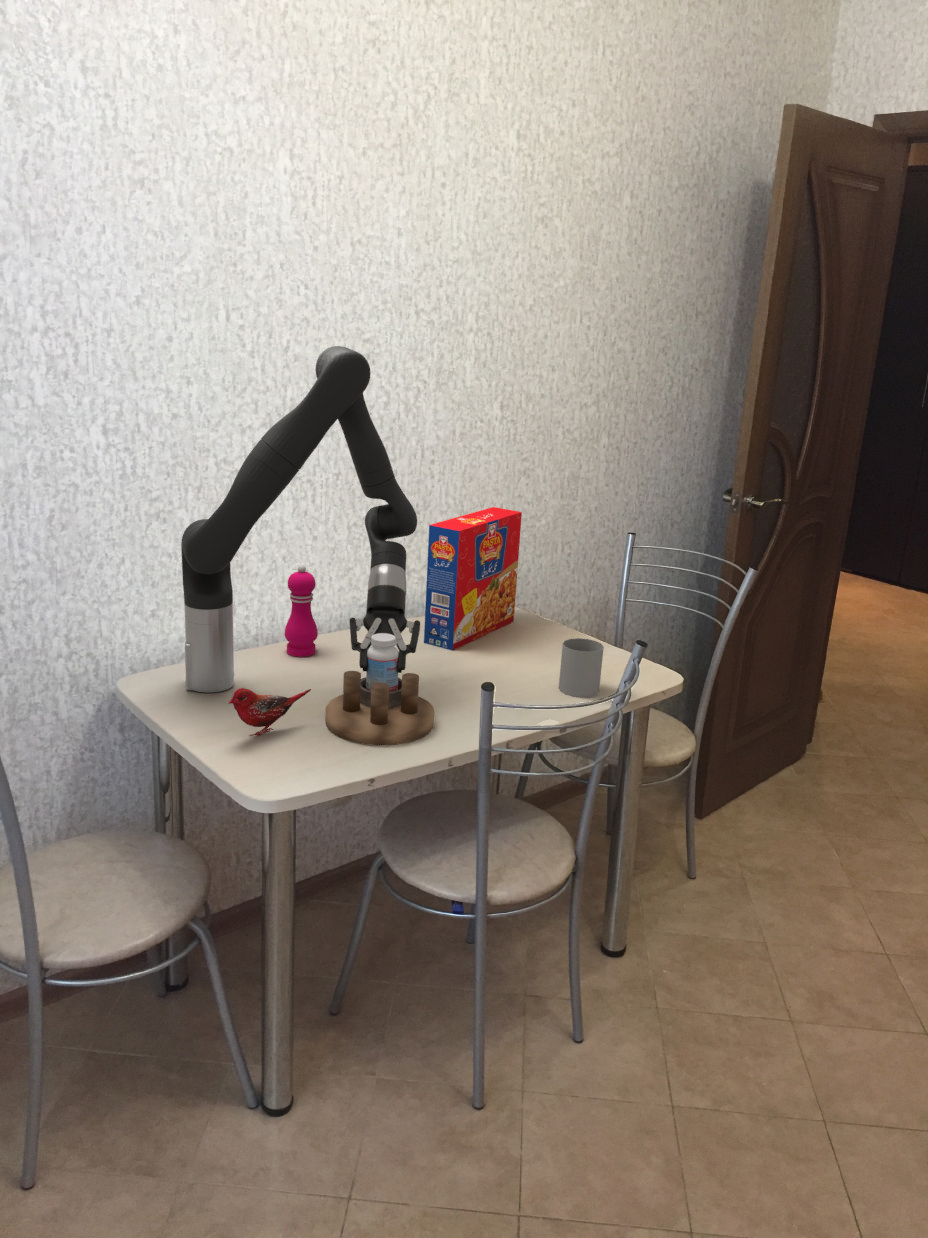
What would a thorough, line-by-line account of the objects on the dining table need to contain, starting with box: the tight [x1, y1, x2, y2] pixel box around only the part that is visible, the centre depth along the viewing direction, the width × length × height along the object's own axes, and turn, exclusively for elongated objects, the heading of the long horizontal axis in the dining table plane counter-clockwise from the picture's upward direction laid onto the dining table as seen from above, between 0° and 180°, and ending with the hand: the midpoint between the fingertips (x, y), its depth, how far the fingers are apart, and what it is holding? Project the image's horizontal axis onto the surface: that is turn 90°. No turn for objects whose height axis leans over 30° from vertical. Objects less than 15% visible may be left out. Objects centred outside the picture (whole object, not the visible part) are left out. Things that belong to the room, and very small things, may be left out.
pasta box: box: [423, 506, 523, 652], centre depth 241 cm, size 28×8×28 cm, turn 148°
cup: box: [558, 637, 604, 699], centre depth 212 cm, size 8×8×10 cm
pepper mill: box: [284, 564, 319, 658], centre depth 222 cm, size 7×7×20 cm
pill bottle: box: [365, 633, 399, 692], centre depth 194 cm, size 6×6×11 cm
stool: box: [324, 670, 436, 746], centre depth 190 cm, size 20×20×10 cm
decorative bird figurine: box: [228, 687, 312, 737], centre depth 184 cm, size 3×18×10 cm, turn 134°
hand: (382, 670), depth 193 cm, fingers closed on pill bottle, 6 cm apart
